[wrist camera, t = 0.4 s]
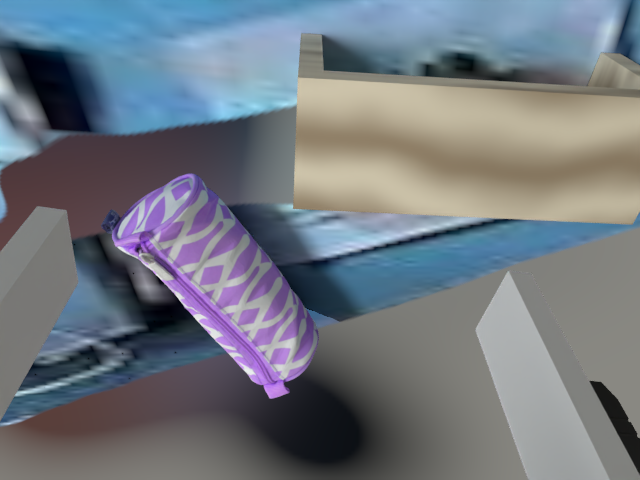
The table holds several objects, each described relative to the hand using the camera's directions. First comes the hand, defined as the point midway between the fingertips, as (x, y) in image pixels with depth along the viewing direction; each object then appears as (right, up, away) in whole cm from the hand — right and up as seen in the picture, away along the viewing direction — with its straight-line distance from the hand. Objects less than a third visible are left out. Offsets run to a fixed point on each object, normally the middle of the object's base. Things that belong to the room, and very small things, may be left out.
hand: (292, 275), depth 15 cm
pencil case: (-8, 0, +33) cm, 34 cm away
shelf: (+11, +11, +24) cm, 29 cm away
